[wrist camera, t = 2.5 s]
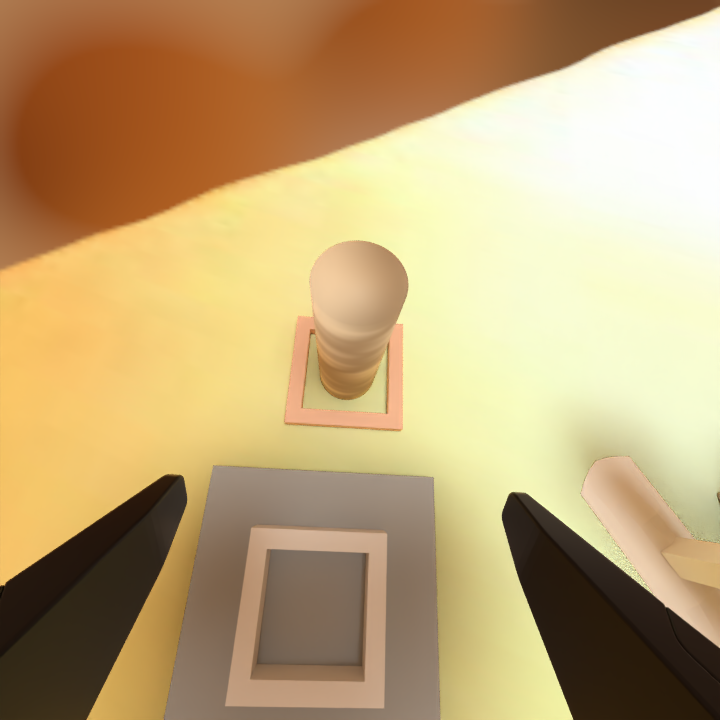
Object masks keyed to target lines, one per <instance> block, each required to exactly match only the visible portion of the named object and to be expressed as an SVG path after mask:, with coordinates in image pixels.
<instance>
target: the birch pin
mask: <svg viewBox="0 0 720 720" xmlns="http://www.w3.org/2000/svg"><path fill="white" fill-rule="evenodd" d="M310 291H311V300H312V308H313V317H314V326H315V335H316V343H317V352H318V361H319V369H320V378H321V382H322V384H323V386H324V388H325V389H326V390H327V391H328V392H329V393H330V394H331V395H333V396H334V397H337V398H339V399H344V400H350V399H355V398H358V397H360V396H362V395H364V394H365V393H366V392H367V391H368V390H369V388H370V387H371V385H372V383H373V380H374V378H375V375H376V373H377V370H378V368H379V365H380V362H381V360H382V357H383V355H384V352H385V350H386V347H387V345H388V342H389V340H390V337H391V335H392V332H393V330H394V327H395V324H396V322H397V319H398V317H399V314H400V312H401V309H402V307H403V304H404V302H405V299H406V297H407V293H408V278H407V274H406V271H405V269H404V267H403V265H402V263H401V262H400V261H399V259H398V258H397V257H396V256H395V255H394V254H392V253H391V252H390V251H389V250H387V249H385V248H384V247H382V246H380V245H377V244H374V243H371V242H366V241H347V242H342V243H339V244H336V245H334V246H332V247H330V248H328V249H327V250H326V251H324V252H323V253H322V254H321V255H320V256H319V257H318V258H317V260H316V261H315V263H314V265H313V267H312V269H311V273H310Z"/></svg>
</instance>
